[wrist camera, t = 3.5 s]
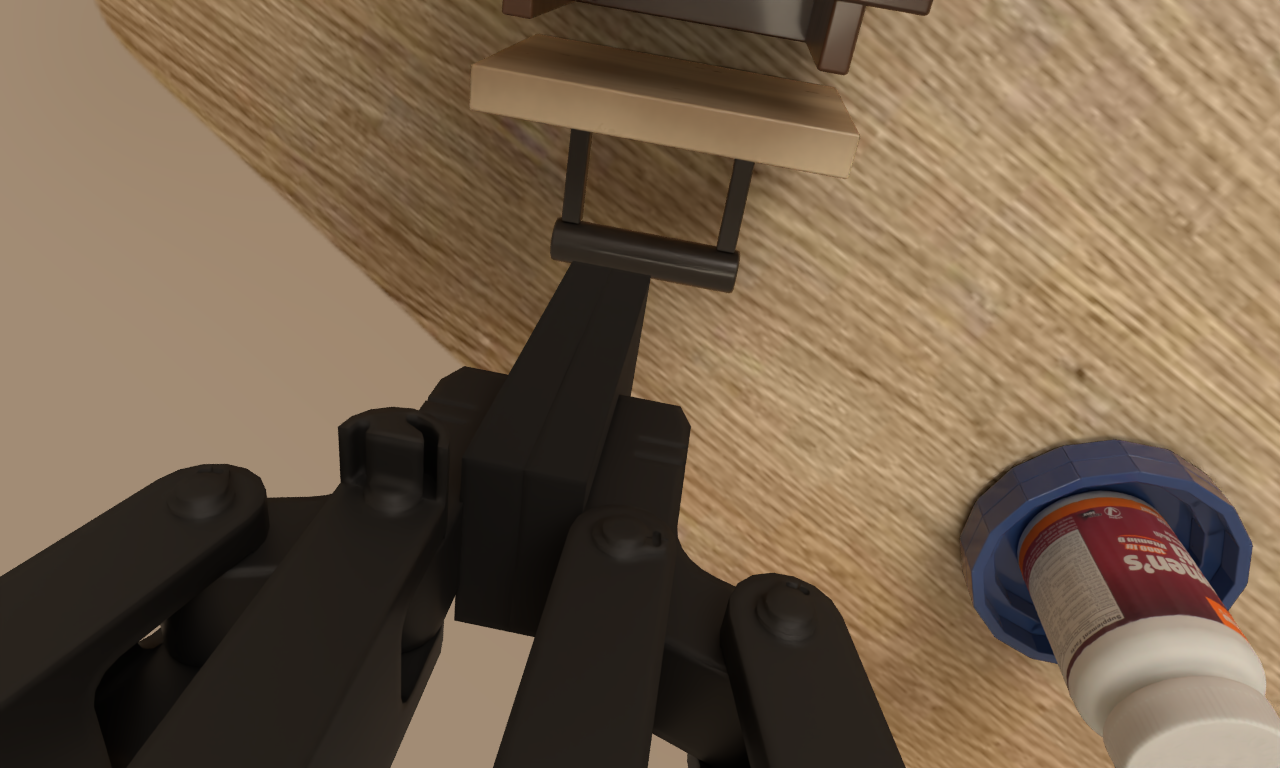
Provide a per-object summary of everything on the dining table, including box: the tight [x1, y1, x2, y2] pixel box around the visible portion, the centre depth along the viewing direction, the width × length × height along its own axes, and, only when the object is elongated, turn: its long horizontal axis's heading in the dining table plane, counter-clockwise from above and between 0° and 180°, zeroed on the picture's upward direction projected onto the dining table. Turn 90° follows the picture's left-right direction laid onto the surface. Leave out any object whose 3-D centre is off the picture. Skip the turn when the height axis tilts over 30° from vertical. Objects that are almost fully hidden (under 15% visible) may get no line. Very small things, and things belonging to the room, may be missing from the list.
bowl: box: [960, 439, 1253, 664], centre depth 35 cm, size 11×11×3 cm
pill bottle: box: [1017, 490, 1280, 768], centre depth 31 cm, size 6×6×11 cm
